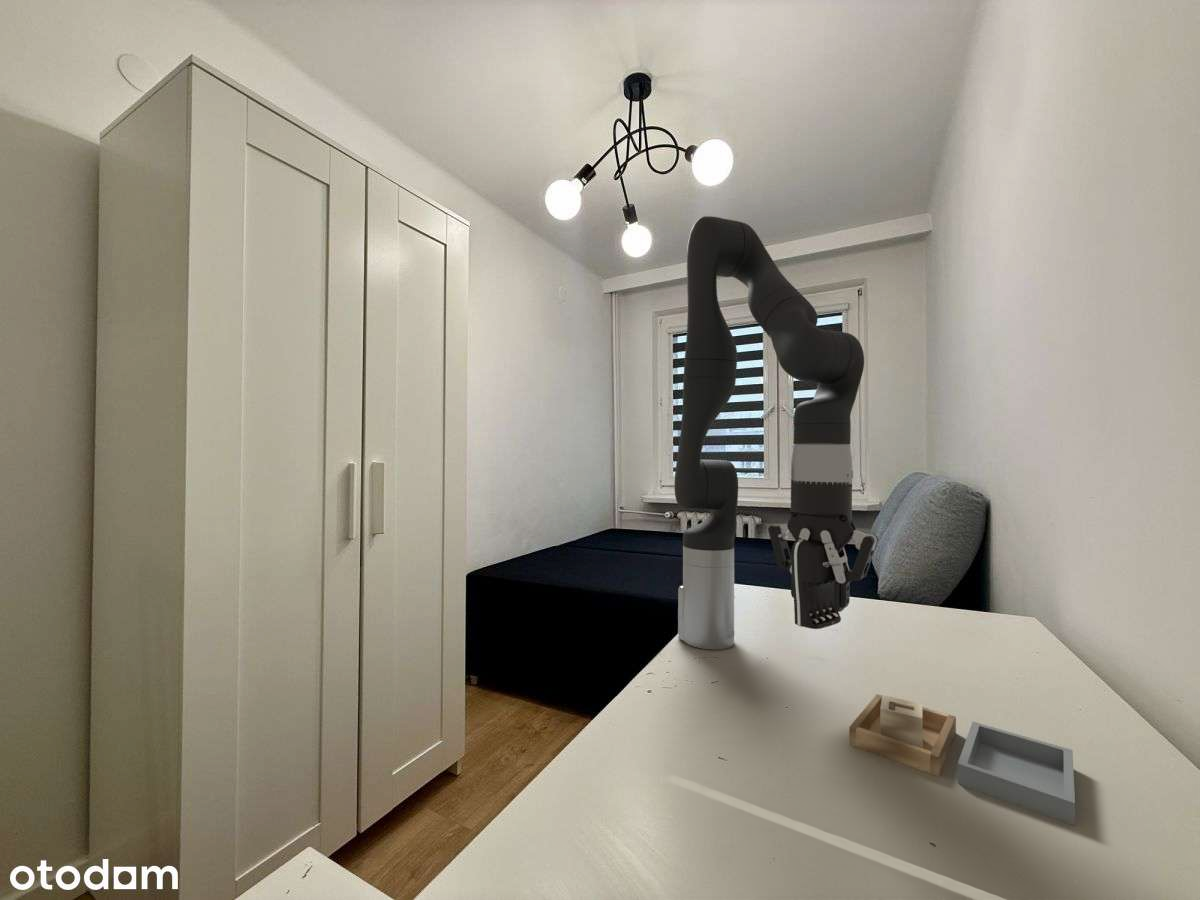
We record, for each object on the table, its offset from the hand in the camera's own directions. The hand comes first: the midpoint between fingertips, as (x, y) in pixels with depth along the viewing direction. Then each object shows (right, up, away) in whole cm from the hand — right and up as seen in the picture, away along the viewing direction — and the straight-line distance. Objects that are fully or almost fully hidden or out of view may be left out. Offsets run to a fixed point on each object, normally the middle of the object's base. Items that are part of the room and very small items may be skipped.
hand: (819, 605), depth 66 cm
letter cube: (+5, -13, -10) cm, 17 cm away
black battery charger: (0, -3, 0) cm, 3 cm away
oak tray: (+6, -13, -9) cm, 17 cm away
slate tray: (+13, -13, -16) cm, 24 cm away
